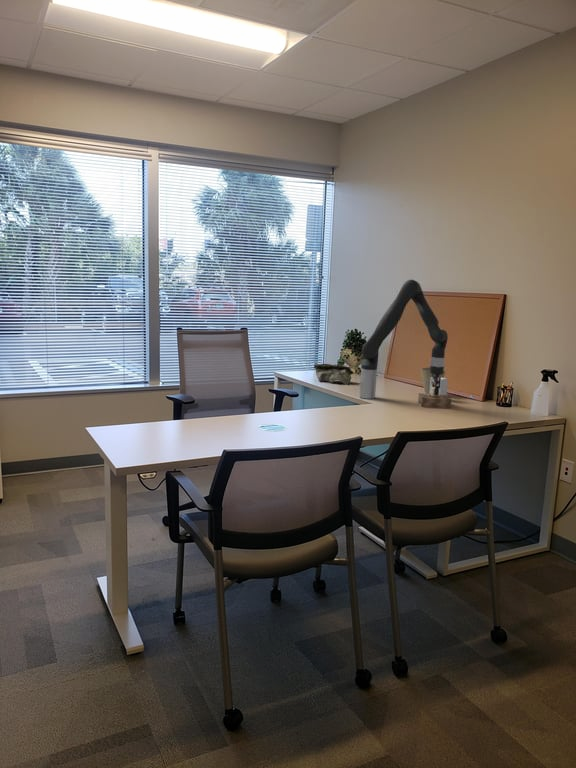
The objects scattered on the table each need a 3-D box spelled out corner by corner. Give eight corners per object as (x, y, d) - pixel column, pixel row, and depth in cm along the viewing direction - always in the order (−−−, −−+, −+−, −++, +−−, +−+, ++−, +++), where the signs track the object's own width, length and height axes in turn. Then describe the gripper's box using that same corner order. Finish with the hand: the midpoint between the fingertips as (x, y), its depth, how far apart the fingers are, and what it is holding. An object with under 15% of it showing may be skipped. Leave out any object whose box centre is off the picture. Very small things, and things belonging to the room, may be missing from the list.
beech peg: (431, 405, 326) (432, 388, 324) (429, 404, 330) (431, 386, 328) (438, 405, 325) (439, 388, 324) (437, 404, 329) (438, 387, 328)
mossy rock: (312, 387, 399) (307, 373, 388) (317, 372, 406) (312, 359, 395) (351, 390, 388) (346, 376, 377) (355, 375, 394) (351, 361, 383)
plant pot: (427, 391, 372) (429, 366, 369) (447, 394, 362) (449, 369, 359) (414, 393, 361) (416, 368, 359) (435, 397, 351) (437, 371, 348)
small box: (446, 400, 344) (448, 378, 341) (439, 401, 340) (441, 379, 337) (435, 397, 350) (436, 376, 348) (428, 398, 346) (430, 377, 344)
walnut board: (421, 406, 321) (422, 398, 320) (418, 401, 335) (418, 393, 334) (450, 408, 320) (451, 399, 319) (446, 403, 334) (446, 394, 333)
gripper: (428, 363, 331) (426, 391, 334) (432, 366, 317) (430, 395, 320) (441, 363, 330) (439, 391, 333) (446, 367, 316) (444, 396, 319)
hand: (434, 393), depth 326 cm, fingers open, 8 cm apart
